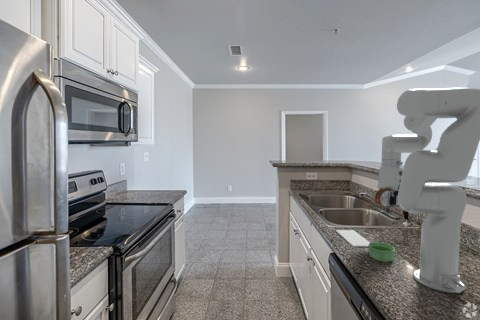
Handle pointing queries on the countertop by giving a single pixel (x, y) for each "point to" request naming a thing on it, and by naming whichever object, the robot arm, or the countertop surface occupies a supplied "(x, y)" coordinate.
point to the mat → (353, 238)
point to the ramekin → (381, 251)
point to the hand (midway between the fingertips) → (389, 203)
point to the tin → (384, 198)
